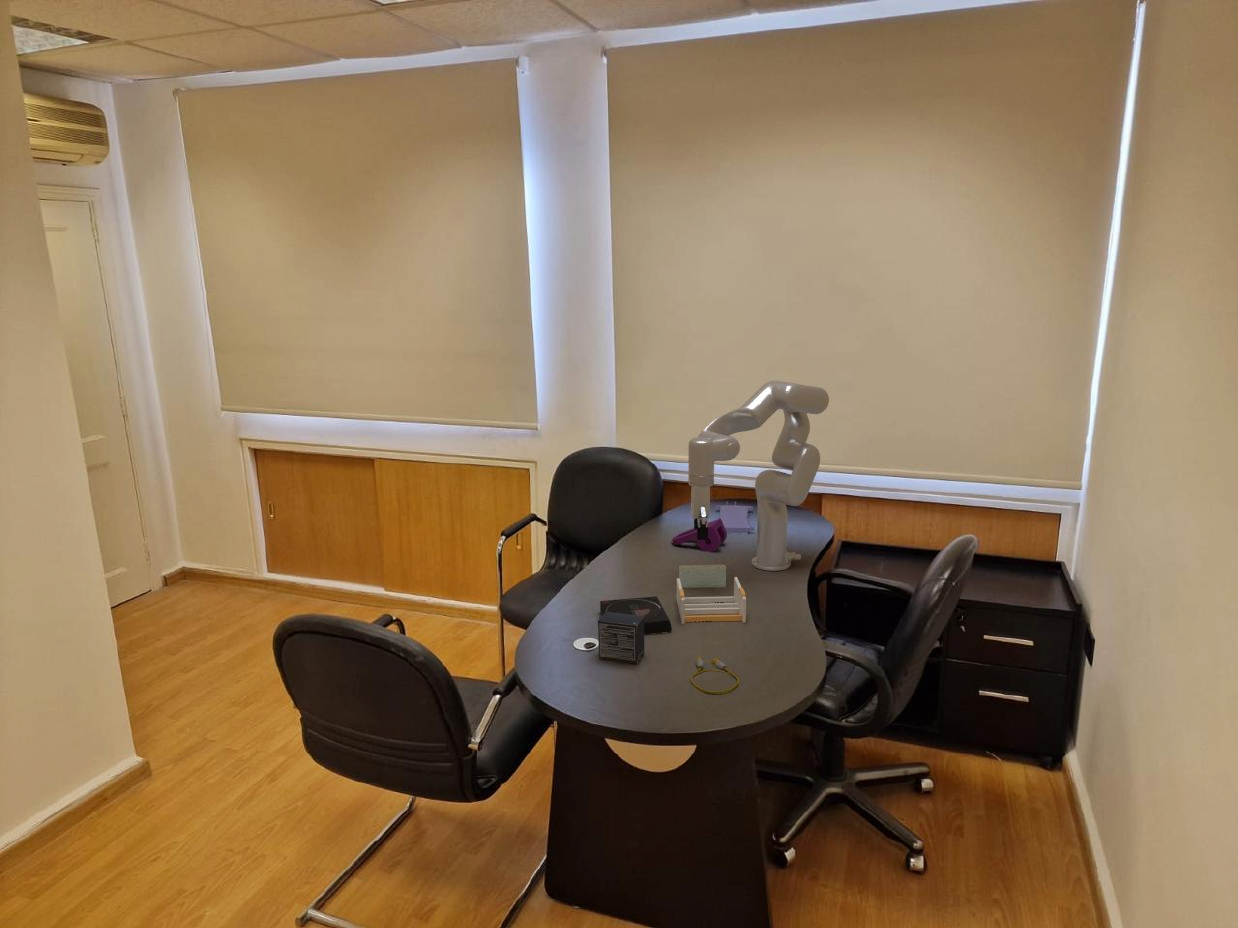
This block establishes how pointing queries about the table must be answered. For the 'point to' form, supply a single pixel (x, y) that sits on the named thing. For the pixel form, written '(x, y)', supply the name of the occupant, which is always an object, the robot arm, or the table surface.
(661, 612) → the portable cd player
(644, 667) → the table surface
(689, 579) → the panel
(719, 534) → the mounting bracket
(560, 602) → the table surface
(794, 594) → the table surface
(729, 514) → the computer part
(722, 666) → the extension cord
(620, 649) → the small box
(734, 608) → the rack
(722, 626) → the table surface
